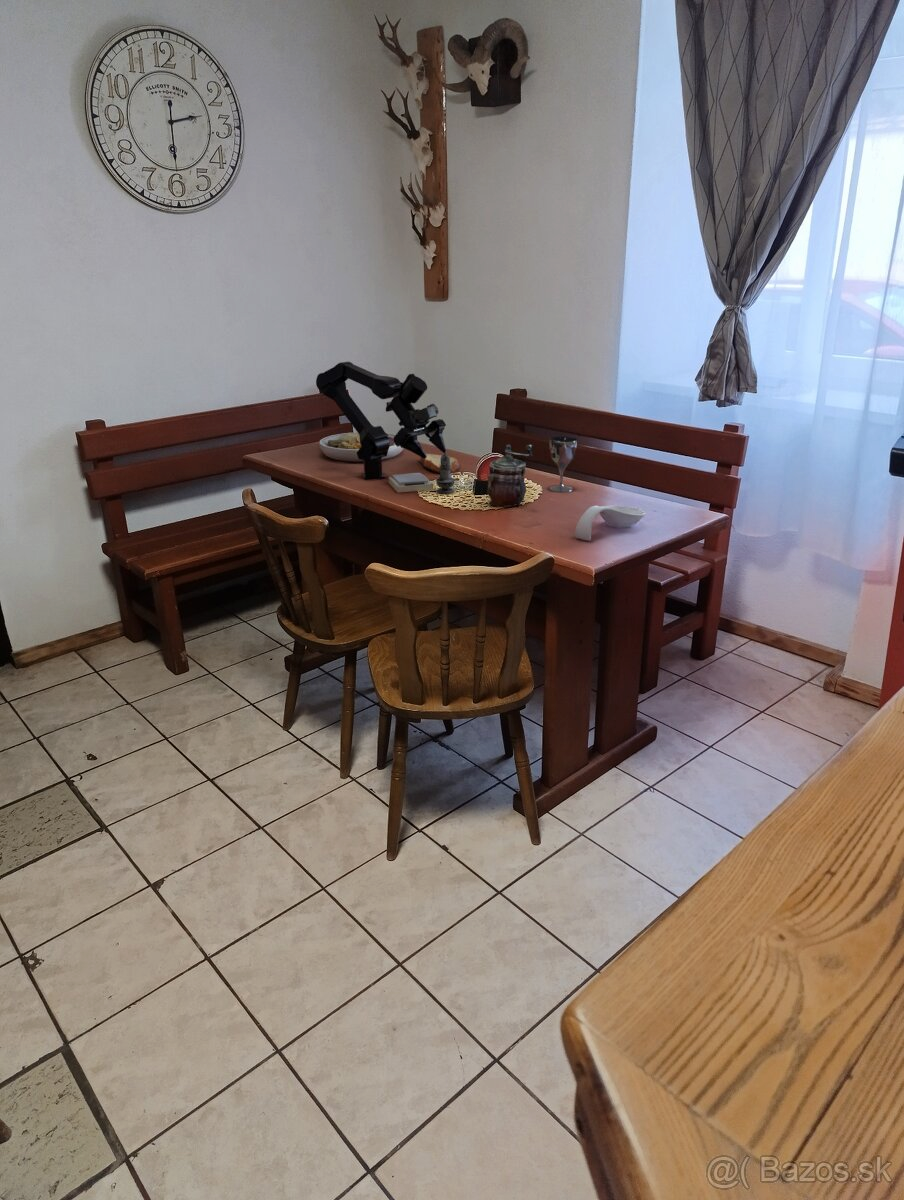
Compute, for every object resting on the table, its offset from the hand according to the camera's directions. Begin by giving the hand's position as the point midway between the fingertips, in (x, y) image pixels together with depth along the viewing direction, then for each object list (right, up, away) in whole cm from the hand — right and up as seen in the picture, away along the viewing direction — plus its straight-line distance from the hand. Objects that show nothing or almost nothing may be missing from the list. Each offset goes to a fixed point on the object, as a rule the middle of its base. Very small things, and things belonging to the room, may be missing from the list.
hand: (435, 454), depth 241 cm
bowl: (-27, +9, +49) cm, 56 cm away
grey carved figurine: (+3, -11, +2) cm, 11 cm away
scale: (-8, -8, +8) cm, 14 cm away
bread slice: (0, +1, +31) cm, 31 cm away
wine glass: (+38, -10, +4) cm, 39 cm away
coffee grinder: (+22, -16, -11) cm, 29 cm away
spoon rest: (+45, -25, -33) cm, 61 cm away
